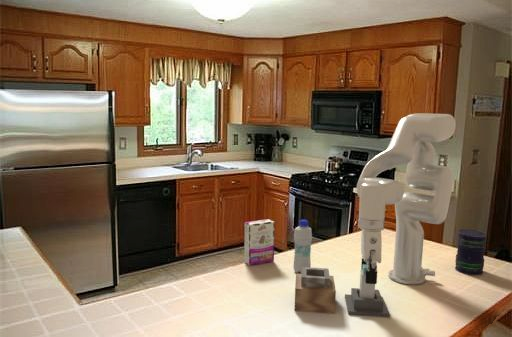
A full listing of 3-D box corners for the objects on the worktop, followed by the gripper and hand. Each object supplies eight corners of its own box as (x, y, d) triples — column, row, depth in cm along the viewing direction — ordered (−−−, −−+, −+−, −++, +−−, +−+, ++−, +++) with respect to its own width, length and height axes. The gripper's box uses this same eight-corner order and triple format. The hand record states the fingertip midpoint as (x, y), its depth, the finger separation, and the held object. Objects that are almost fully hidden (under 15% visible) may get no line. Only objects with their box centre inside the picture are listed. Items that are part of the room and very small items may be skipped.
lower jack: (382, 299, 139) (383, 287, 139) (389, 317, 128) (390, 304, 127) (344, 297, 141) (345, 285, 140) (348, 314, 129) (349, 301, 128)
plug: (372, 301, 136) (374, 264, 134) (373, 307, 132) (376, 269, 130) (359, 300, 136) (361, 263, 135) (360, 306, 132) (362, 268, 131)
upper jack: (332, 296, 141) (333, 266, 140) (334, 313, 129) (336, 281, 128) (295, 293, 142) (296, 264, 141) (294, 310, 131) (295, 278, 129)
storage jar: (455, 272, 164) (458, 234, 162) (454, 264, 173) (457, 228, 171) (484, 277, 161) (488, 238, 159) (481, 268, 170) (485, 231, 168)
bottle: (310, 269, 165) (312, 217, 162) (311, 275, 158) (313, 222, 156) (292, 268, 166) (294, 217, 163) (292, 274, 159) (294, 221, 156)
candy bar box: (268, 257, 176) (269, 218, 174) (274, 261, 172) (275, 221, 170) (243, 261, 171) (244, 221, 169) (248, 266, 167) (249, 224, 165)
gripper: (389, 232, 122) (386, 289, 124) (379, 216, 139) (376, 267, 141) (362, 231, 123) (359, 288, 125) (355, 215, 140) (353, 265, 142)
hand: (368, 276), depth 133 cm, fingers open, 9 cm apart
